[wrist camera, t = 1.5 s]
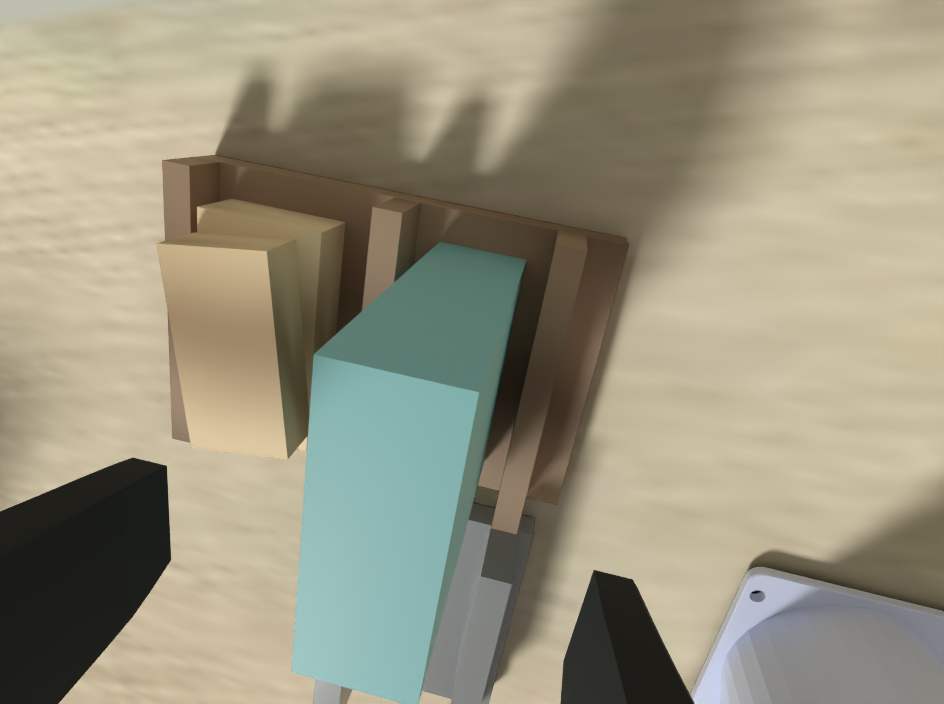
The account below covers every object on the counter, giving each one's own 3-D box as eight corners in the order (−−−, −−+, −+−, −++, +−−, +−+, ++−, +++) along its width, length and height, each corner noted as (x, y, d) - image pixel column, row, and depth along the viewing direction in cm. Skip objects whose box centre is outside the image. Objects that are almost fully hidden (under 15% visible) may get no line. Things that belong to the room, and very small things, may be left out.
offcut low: (328, 424, 20) (306, 451, 19) (230, 400, 21) (200, 425, 19) (345, 221, 18) (321, 232, 16) (232, 198, 18) (197, 206, 16)
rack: (557, 487, 21) (554, 543, 18) (214, 405, 22) (162, 446, 19) (626, 238, 17) (635, 260, 15) (213, 155, 18) (150, 161, 16)
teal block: (484, 461, 20) (417, 707, 11) (409, 443, 20) (291, 672, 12) (526, 259, 17) (479, 392, 9) (439, 241, 17) (313, 353, 9)
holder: (490, 686, 25) (477, 771, 22) (333, 643, 26) (298, 719, 22) (535, 518, 21) (527, 588, 18) (351, 472, 22) (313, 533, 19)
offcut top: (310, 432, 18) (287, 459, 17) (221, 421, 19) (191, 447, 17) (294, 239, 16) (266, 251, 15) (193, 232, 16) (156, 243, 15)
